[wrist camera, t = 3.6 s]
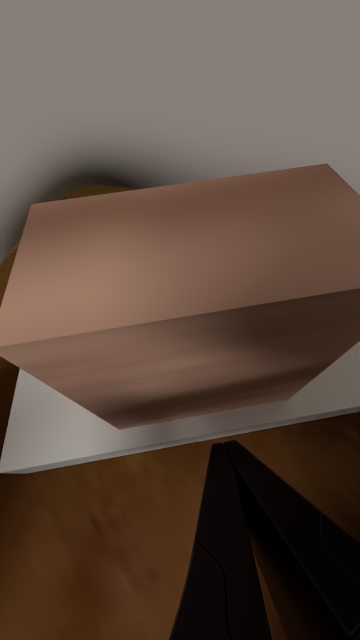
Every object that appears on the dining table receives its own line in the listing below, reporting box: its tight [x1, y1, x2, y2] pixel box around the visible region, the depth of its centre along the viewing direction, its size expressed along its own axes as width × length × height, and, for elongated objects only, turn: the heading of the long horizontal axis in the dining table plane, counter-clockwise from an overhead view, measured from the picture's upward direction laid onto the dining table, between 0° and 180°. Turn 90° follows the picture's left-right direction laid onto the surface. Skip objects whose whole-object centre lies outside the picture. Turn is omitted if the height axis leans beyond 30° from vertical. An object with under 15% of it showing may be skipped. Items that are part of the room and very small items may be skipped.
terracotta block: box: [0, 164, 360, 430], centre depth 11 cm, size 5×10×10 cm, turn 99°
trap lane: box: [0, 341, 360, 474], centre depth 19 cm, size 19×22×2 cm
